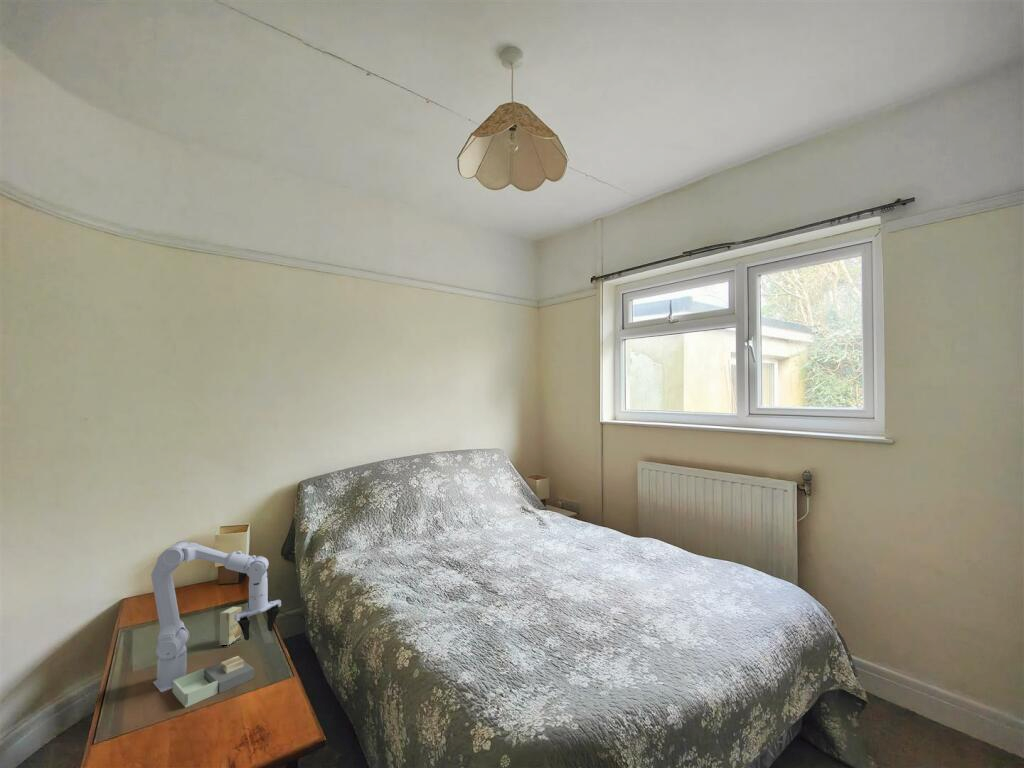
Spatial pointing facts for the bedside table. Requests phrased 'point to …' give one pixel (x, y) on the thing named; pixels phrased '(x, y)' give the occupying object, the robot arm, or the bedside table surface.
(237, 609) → the skincare box
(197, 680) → the tray
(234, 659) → the birch block
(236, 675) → the plate
